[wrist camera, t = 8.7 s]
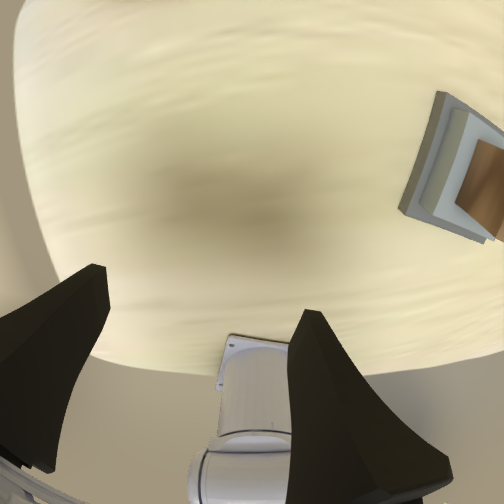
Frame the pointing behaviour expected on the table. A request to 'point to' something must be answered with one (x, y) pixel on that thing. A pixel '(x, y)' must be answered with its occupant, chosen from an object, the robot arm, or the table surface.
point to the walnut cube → (485, 189)
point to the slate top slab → (456, 168)
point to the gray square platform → (426, 162)
